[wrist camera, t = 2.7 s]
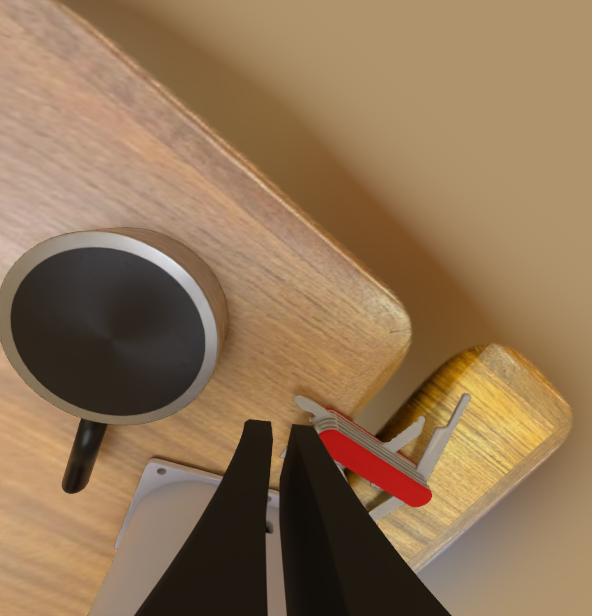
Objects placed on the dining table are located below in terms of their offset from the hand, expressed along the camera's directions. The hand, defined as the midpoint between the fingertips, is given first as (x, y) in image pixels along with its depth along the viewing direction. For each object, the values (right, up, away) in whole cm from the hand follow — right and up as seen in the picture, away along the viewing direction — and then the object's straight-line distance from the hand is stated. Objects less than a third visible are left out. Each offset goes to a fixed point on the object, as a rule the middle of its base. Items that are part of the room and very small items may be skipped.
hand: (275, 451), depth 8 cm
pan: (-9, +1, +8) cm, 12 cm away
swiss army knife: (+5, -5, +9) cm, 11 cm away
